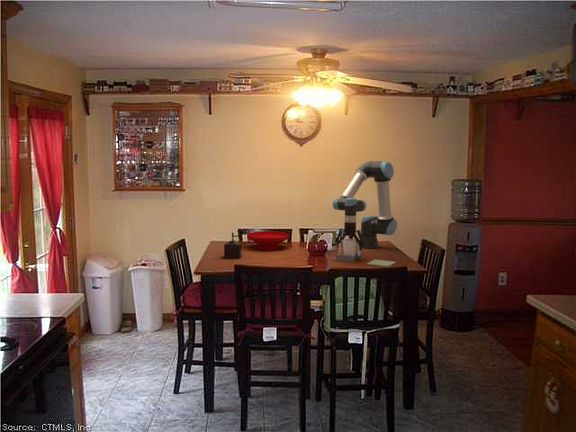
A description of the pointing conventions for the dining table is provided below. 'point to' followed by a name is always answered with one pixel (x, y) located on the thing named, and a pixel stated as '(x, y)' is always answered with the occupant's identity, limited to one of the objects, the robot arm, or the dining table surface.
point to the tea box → (328, 232)
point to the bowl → (268, 239)
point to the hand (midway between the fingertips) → (349, 254)
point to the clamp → (348, 257)
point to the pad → (381, 263)
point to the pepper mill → (233, 247)
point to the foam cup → (349, 246)
